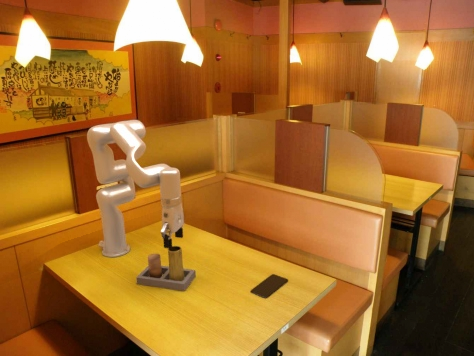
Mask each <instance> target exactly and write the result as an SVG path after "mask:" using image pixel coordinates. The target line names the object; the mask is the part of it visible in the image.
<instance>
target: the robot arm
mask: <svg viewBox="0 0 474 356" xmlns="http://www.w3.org/2000/svg"><path fill="white" fill-rule="evenodd" d="M146 133H147V130H146V127H145V125H144V123H143V122H141V120H139V119H129V120H122V121H117V122H113V123H112V122H111V123H104V124H98V125H94V126H92V127H90V128H89V129H88V131H87V134H86V140H87V143H88V146H89V148H90V151H91V154H92V157H93V163H94V164H93V165H94V170H95V176H96V179H97V181H98V183H99V184H101V185H108V186H105V187H104V186H103V187H102V188H100V189H99V190H98V191H97V192H96V194H95V197H96V198H95V200H96V202H97V205H98V208H99V214H100V219H101V226H102V235H103V240H99V242H98V247H101V248H102V251H101V252H102V253H101V254H102V255H103V256H104V257H107V258H116V257H122V256H124V255H127V254H128V253H129V252H130V251H131V246H130V245H129V244H127V239H126V232H125V231H126V229H125V221H124V215H123V212H122V211H121V209H119V208H118V206H121V205H124V204H127V203H130V202H132V201H134V199H135V197H136V186H135V184H136V185H137V186H139V187H140V188H143V189H147V188H151V187H154V186H158V185H159V189H160V190H159V191H160V204H161V226H162V228H161V230H160V234H161V237H162V239H163V248H164V249H167V250H168V249H172V246H173V239H172V235H173V234H174V236H175V237H174V238H178V239H179V238H180V239H183V238H184V231H183V230H184V229H183V228H184V225H185V216H184V208H183V203H182V202H183V201H182V189H181V188H182V187H181V186H182V184H181V173H180V170H179V169H178V167H177V168H176V167H171V166H170V165H168V164H166V163H158V164H153V165H150V166H145V167H144V166H143V167H141V166H140V164H139V163H138V162H137V160H138V159H140V158H141V157H142V156H143V155H144V153H146V150H147V145H146V143H145V142H144V140H142V139H144V138H145V136H146ZM110 144H116V145H117V146H118V148H120V149H121V150H122V152H123V153H124V154H125V155H126V159H117V160H115V157H114V151H113V149H112V148H111V147H110V146H109V145H110ZM117 182H119V183H117ZM113 183H116V184H113ZM109 184H113V185H109ZM167 233H168V234H167Z"/></svg>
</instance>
